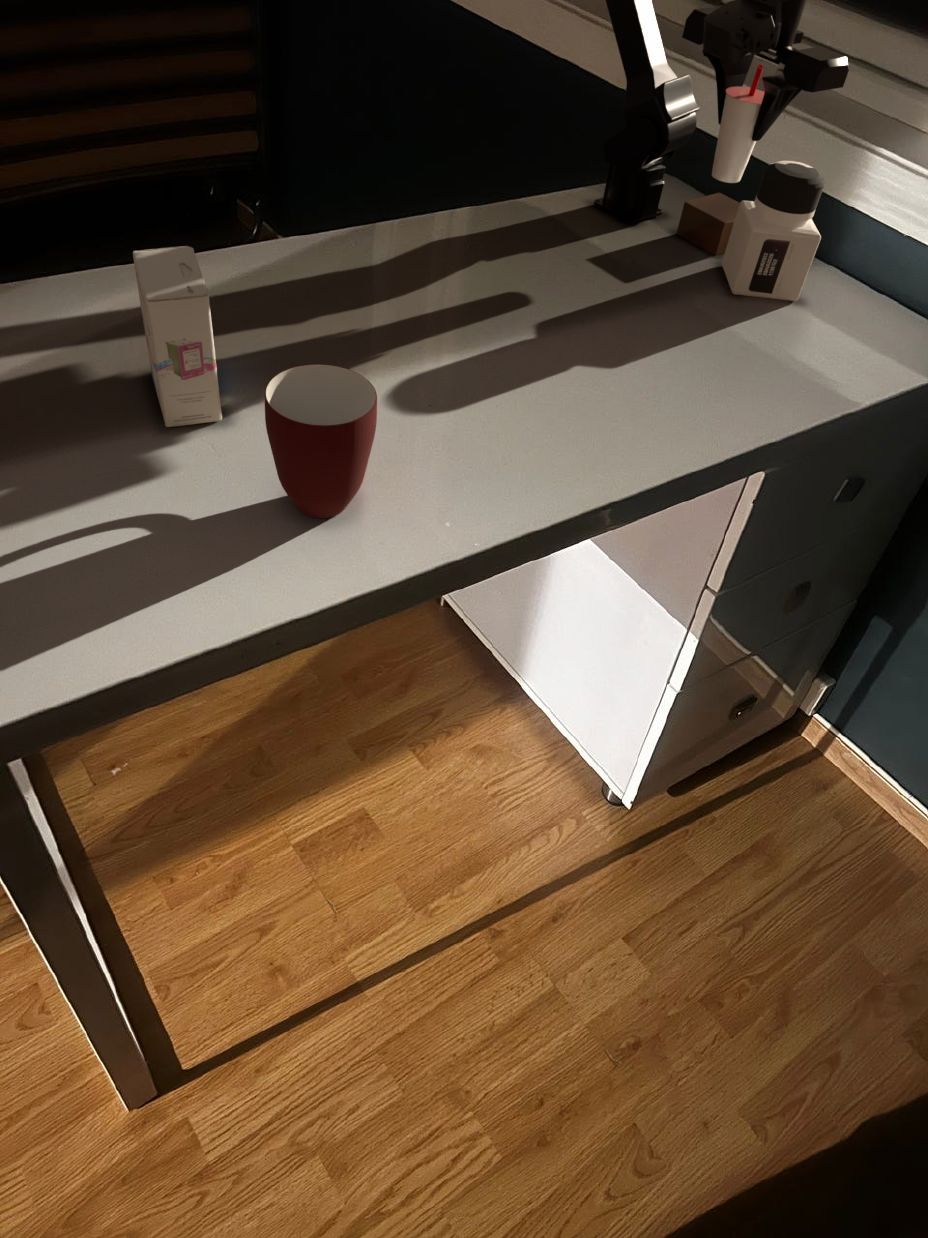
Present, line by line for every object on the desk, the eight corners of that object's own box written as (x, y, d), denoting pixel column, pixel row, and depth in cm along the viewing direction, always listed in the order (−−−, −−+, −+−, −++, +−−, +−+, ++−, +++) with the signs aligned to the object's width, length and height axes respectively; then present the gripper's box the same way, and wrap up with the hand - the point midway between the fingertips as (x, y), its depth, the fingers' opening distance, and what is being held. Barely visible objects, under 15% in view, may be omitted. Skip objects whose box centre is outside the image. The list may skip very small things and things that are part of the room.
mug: (227, 484, 77) (217, 374, 70) (303, 445, 82) (302, 338, 75) (318, 551, 73) (317, 440, 66) (393, 505, 78) (400, 398, 71)
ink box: (148, 374, 87) (130, 245, 79) (205, 368, 89) (193, 242, 80) (163, 429, 82) (145, 297, 73) (223, 422, 83) (213, 292, 75)
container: (798, 302, 111) (841, 186, 101) (731, 295, 110) (769, 178, 101) (783, 271, 116) (823, 158, 107) (720, 263, 116) (755, 150, 106)
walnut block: (675, 233, 120) (684, 201, 118) (710, 223, 124) (719, 192, 121) (715, 255, 117) (725, 222, 114) (749, 244, 120) (760, 212, 118)
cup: (756, 186, 113) (792, 72, 104) (714, 186, 111) (747, 71, 103) (736, 167, 116) (769, 56, 108) (695, 167, 115) (725, 54, 106)
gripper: (666, -51, 100) (631, 111, 111) (807, 2, 91) (754, 174, 102) (737, -55, 106) (697, 100, 117) (878, -5, 96) (820, 159, 107)
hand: (738, 132), depth 110 cm, fingers closed on cup, 5 cm apart
